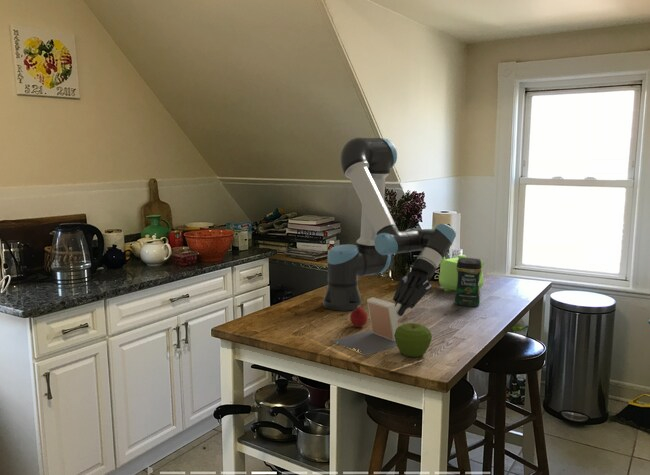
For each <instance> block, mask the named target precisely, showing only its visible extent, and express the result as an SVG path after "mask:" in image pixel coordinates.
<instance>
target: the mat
mask: <svg viewBox="0 0 650 475" xmlns="http://www.w3.org/2000/svg"><path fill="white" fill-rule="evenodd" d="M331 341H333V342H332V343H333V344H335V343H337V342H338V343H337V344H336V345H338V344H339V345H338V346H340V345H341V346H340V347H342V346H345V347H348V348H351V349H353V348H355V349H356V351H357V350H358V349H359V352H360V351H361V352H360V353H362V354H364V355H366V356H369V355H373V354H375V353H380V352H382V351H385V350H388V349H391V348H395V347H398V346H397V344H396V341H392V340H390V339H387V338H384V337H382V336H379V335H376V334H374V333H372V329H369V330H365V331H363V332H362V331H361V332H358V333H354V334H350V335H347V336H344V337H339V338H337V339H333V340H331ZM345 347H344V348H345ZM366 356H365V357H366Z"/></svg>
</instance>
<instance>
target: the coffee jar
mask: <svg viewBox="0 0 650 475" xmlns="http://www.w3.org/2000/svg"><path fill="white" fill-rule="evenodd" d="M481 261H482V260H481V258H474V257H466V258H459V259H458V262H457V267H456V269H457V272H458V280H457V288H456V291H455V294H454V303H455V304H456V305H458V306H463V307H465V306H466V307H478V306H479V305H480V303H481V302H480V301H481V297H480V296H481V292H480V291H481V289H479V278H480V273H481V270H482V271H483V267H481Z"/></svg>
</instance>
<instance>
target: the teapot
mask: <svg viewBox="0 0 650 475" xmlns="http://www.w3.org/2000/svg"><path fill="white" fill-rule="evenodd" d="M459 258H467V255H465V254H458V255H457V257H451V258H446V255H445V256H444V258H443V259H442V261H441V263H440V264H439V268H440V271H439V277H438V282H439V285H440V286H441V287H443V288H444V289H443V292H449V293H450V292H452V291H455V292H456V288H457V280H458V272H457V269H456V267H457V262H458V259H459ZM484 265H485V262H484V261H482V260H481V267H482V268H483V267H484ZM483 285H484V274H483V269H482V270H481V273H480V278H479V290H481V289H482V287H483Z"/></svg>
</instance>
